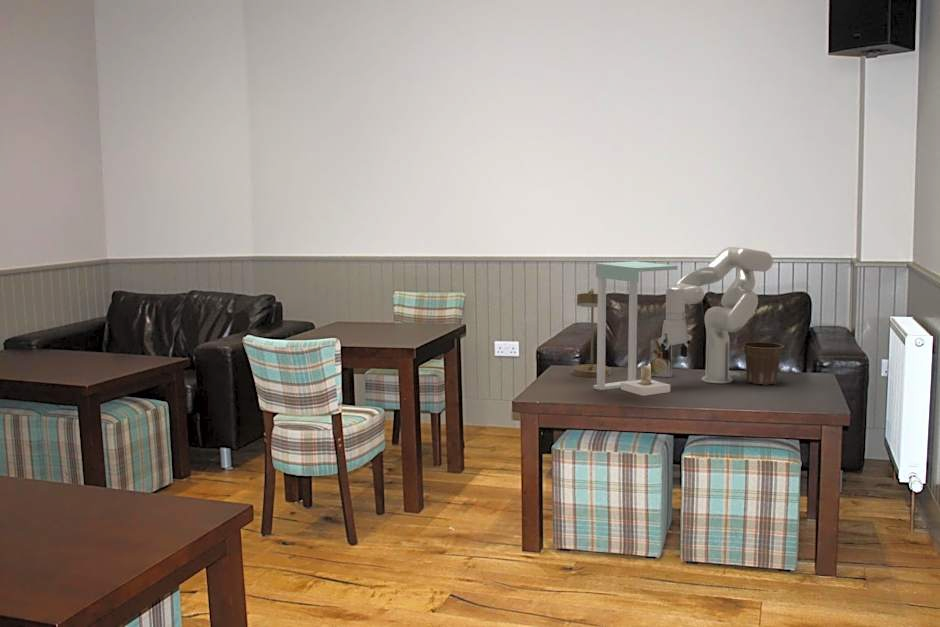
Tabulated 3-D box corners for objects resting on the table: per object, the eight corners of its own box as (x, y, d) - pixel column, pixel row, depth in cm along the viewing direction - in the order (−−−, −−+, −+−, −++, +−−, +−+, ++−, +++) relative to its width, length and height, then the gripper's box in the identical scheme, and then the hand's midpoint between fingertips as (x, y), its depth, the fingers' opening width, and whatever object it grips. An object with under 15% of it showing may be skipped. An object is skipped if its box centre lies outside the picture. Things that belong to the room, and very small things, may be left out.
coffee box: (672, 374, 426) (673, 338, 424) (671, 377, 420) (671, 340, 418) (651, 373, 429) (651, 337, 427) (649, 376, 423) (650, 340, 421)
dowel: (649, 389, 396) (650, 365, 394) (651, 391, 392) (651, 367, 391) (639, 389, 396) (640, 365, 394) (641, 391, 392) (642, 367, 390)
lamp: (567, 381, 414) (568, 292, 409) (573, 369, 440) (573, 286, 435) (608, 382, 410) (609, 293, 405) (611, 370, 437) (612, 286, 432)
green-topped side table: (631, 383, 409) (633, 261, 402) (674, 394, 386) (677, 265, 379) (593, 388, 400) (594, 263, 393) (634, 400, 376) (636, 268, 369)
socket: (647, 385, 403) (647, 378, 403) (670, 392, 391) (670, 384, 391) (620, 389, 396) (621, 382, 396) (642, 395, 384) (642, 388, 384)
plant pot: (777, 378, 416) (779, 341, 413) (786, 386, 400) (787, 348, 397) (738, 378, 417) (739, 341, 415) (745, 386, 401) (746, 347, 399)
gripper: (685, 313, 404) (684, 354, 407) (652, 317, 396) (652, 358, 398) (697, 315, 398) (697, 357, 400) (664, 319, 390) (664, 361, 392)
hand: (674, 357), depth 399 cm, fingers open, 9 cm apart
